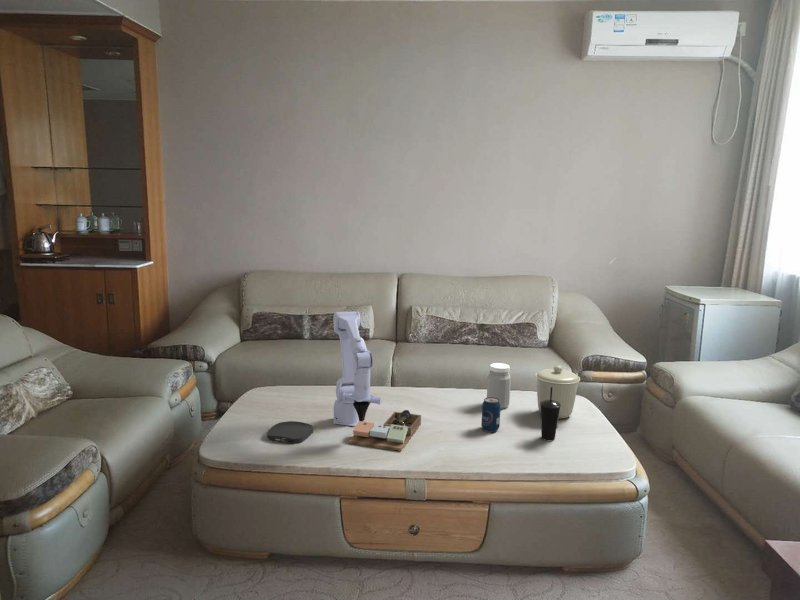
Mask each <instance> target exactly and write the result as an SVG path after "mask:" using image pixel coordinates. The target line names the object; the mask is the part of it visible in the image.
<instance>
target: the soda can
mask: <svg viewBox="0 0 800 600" xmlns="http://www.w3.org/2000/svg"><path fill="white" fill-rule="evenodd" d="M500 406H501V405H500V402H499V399H497V398H492V397H488V398H487V397H485V398H484V399H483V402H482V405H481V428H482V430H483V431H485V432H488V433H496V432H497V431H498V430H499V428H500V427H501V425H500V424H501V409H500Z"/></svg>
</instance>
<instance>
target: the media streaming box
mask: <svg viewBox="0 0 800 600" xmlns="http://www.w3.org/2000/svg"><path fill="white" fill-rule="evenodd" d="M313 433H314V426H313V425H312V424H311V423H310V424H309V423H307V422H303V421H296V420H295V421H294V420H293V421H291V420H290V421H289V420H287V421H283V422H278V423H276V424H274V425H272V426H271V427H270V428H269V429H267V432H266V435H267V436H266V438H268V439H269V440H268V439H267V440H268V441H270V440H272V441H271V442H275V441H277V442H276V443H283V444H284V443H285V444H291V445H292V444H293V445H296V444H301V443H304V442H305V441H306V440H307V439H309V437H311V435H312V434H313Z"/></svg>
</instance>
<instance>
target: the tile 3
mask: <svg viewBox="0 0 800 600" xmlns="http://www.w3.org/2000/svg"><path fill="white" fill-rule="evenodd" d="M407 427H408V426H406V425H405V426H400V425H397V424H391V427H390V430H389V433H388V436H387V441H390V442H397V443H404V440H405V437H406V434H407V430H408V429H407Z"/></svg>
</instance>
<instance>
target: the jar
mask: <svg viewBox="0 0 800 600" xmlns="http://www.w3.org/2000/svg"><path fill="white" fill-rule="evenodd" d="M510 369H511V366H510V365H509V364H508V363H507V364H506V363H503V362H493V363H491V364H490V365H489V373H488V375H487V383H486V385H487V386H486V387H487V389H486V398H488V397H492V398H497V399H499V402H500V405H501V406H500V410H503V409H504V410H505V409H506V408H508V407H509V405H510V401H511V380H512V376H511V375H510Z"/></svg>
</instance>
